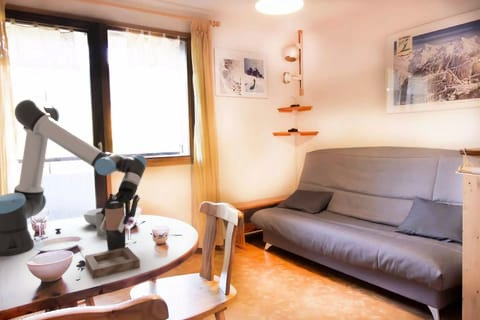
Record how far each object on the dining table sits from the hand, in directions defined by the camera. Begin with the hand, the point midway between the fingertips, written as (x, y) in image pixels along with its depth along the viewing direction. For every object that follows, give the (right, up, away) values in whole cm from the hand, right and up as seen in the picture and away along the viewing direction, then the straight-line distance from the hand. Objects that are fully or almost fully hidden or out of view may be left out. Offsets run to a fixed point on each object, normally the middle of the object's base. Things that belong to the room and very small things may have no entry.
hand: (110, 230), depth 142 cm
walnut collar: (+5, -10, -13) cm, 18 cm away
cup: (-13, -7, +27) cm, 31 cm away
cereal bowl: (-21, -6, +42) cm, 48 cm away
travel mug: (+1, -8, +4) cm, 9 cm away
